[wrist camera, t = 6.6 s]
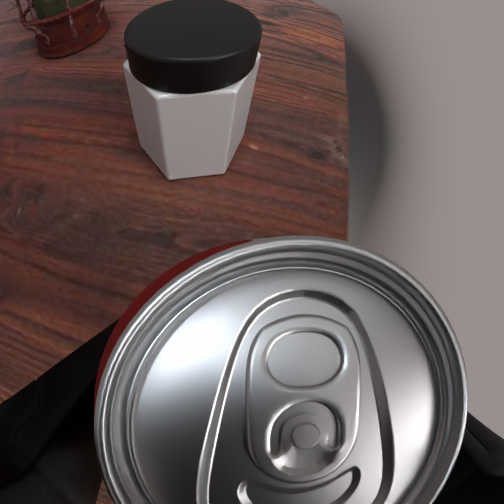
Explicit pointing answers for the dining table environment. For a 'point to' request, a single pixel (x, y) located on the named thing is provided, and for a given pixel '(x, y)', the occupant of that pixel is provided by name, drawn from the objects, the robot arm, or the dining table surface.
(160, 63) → the jar
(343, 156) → the dining table surface
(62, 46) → the lantern
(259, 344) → the soda can
